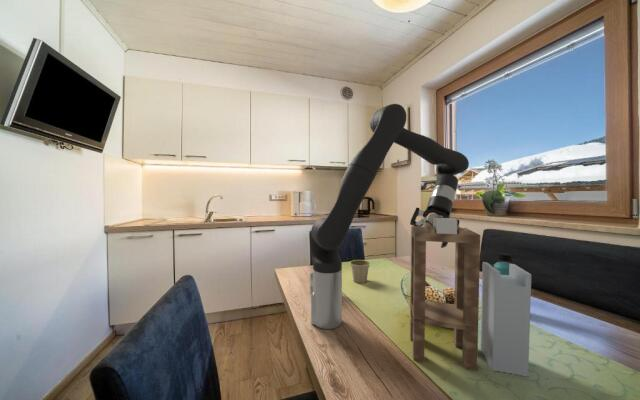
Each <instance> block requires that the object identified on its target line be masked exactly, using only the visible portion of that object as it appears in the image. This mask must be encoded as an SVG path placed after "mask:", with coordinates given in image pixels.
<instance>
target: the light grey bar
mask: <svg viewBox="0 0 640 400" xmlns="http://www.w3.org/2000/svg"><path fill="white" fill-rule="evenodd" d="M427 220H428V221H429V222H430V223H431V224H433V227H434V228H435V232H436V233H440V234H457V220H458V219H456V218H454V217H453V218H452V217H450V218H443V217H441V216H439V215H437V214H435V213H430V214H429V215H428V216H427Z"/></svg>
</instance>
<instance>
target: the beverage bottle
mask: <svg viewBox="0 0 640 400" xmlns="http://www.w3.org/2000/svg"><path fill="white" fill-rule="evenodd" d="M512 258H513V257H512V254H510V253H505V252H498V253H497V260H499V261H497V262H495V263H494V264H493V267H494V268H495V269H497V270H498V271H499V272H500V275H509V264H512V263H510V262H512V261H513V259H512Z"/></svg>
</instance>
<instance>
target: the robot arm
mask: <svg viewBox="0 0 640 400" xmlns="http://www.w3.org/2000/svg"><path fill="white" fill-rule="evenodd" d="M406 123H407V112H406V110H405V108H404V107H403V106H402V105H401V104H398V103H391V104H387V105H386V106H383V107H382V108H380V109H378V110H377V111H375V112H374V113H373V114H371V116H370V118H369V127H370V130H371V132H372V133H373V134H372V135H371V137H370V138H369V139H368V141H367V142H366V143H365V145H364V146H362V148H360V149H359V151H358V152H357V153H356V154H355V156H354V157H353V158H352V160H351V161H350V162H349V164H348V165H347V168H346V170H345V172H344V173H343V177H342V178H341V180H340V184H339V189H338V193H337V197H336V201H335V203H334V205H333V207H332V208H331V210H330V212H329V213H328V215H327V217H322V218H319V219H316V221H315V222H313V224H312V227H311V230H310V249H311V250H310V251H311V252H310V255H311V261H312V273H313V293H312V294H311V293H310V295H311V296H310V315H311V317H310V320H311V322H310V323H311V325H314V326H315V327H317V328H319V329H324V330H332V329H336V328H338V327H340V326H341V325H342V322H343V314H342V313H343V278H342V277H343V274H342V273H343V267H342V265H343V261H342V259H341V257H340V253H339V248H340V247H341V246H342V245H343V243H344V241H345V239H346V237H347V235H348V232H349V230H350V227H351V225H352V223H353V220H354V217H355V215H356V213H357V211H358V210H359V208H360V206H361V204H362V202H363V201H364V199H365V197H366V195H367V193H368V191H369V190H370V187H371V186H372V183H373V181H374V180H375V178H376V177H377V174H378V172H379V170H380V168H381V167H382V164H384V163H383V162H384V160H385V158H386V156H387V155H388V152H389V151H390V149H391V147H392V146H393V144H396V145H398V146H401V147H403V148H405V149H406V150H408V151H410V152H412V153H414V154H415V155H417V156H418V157H420V158H422V159H423V160H425V161H426V162H428V163H429V164H431V165H434V166H435V165H436V166H435V167H436V168H435V170H436V173H435V174H436V176H435V177H436V181H435V184H434V187H433V189H432V190H431V193H430V196H429V199H428V202H427V205H426V208H425V210H423V209H420V207H415V210H414V212H413V214H412V216H411V219H410V223H409V224H410V225H411V226H422V227H424V222H428V223H429V224H430V225H431V226H433V224H431V223H430V222H429V221H428V220H427V216H428V215H429V214H430V213H435V214H437V215H439V216H441V217H443V218H451V217H450V215H451V212H452V209H453V206H454V203H455V198H456V192H457V188H458V186H459V185H458V184H459V180H458V178H457V176H455V175H459V174H461V173H463V172H466V171H467V170H468V168H469V166H470V162H469V160H468V158H467V156H466V155H465V154H463V153H461V152H460V151H457V150H453V149H450V148H448V147H444V146H443V145H441V144H440V143H439V142H437V141H436V140H434V139H432V138H430V137H429V136H426V135H424V134H423V135H422V134H419V133H416V132H413V131H411V130H409V129H406V128H405V125H406ZM421 215H422V217H423V218H421V219H420V220H418V221H416V219H417V218H418V217H419V216H421ZM456 220H457V226H459V227H460V220H459V219H456ZM448 243H449V242H441V245H440V248H442V249H444V248H446V247H447V245H448Z"/></svg>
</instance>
